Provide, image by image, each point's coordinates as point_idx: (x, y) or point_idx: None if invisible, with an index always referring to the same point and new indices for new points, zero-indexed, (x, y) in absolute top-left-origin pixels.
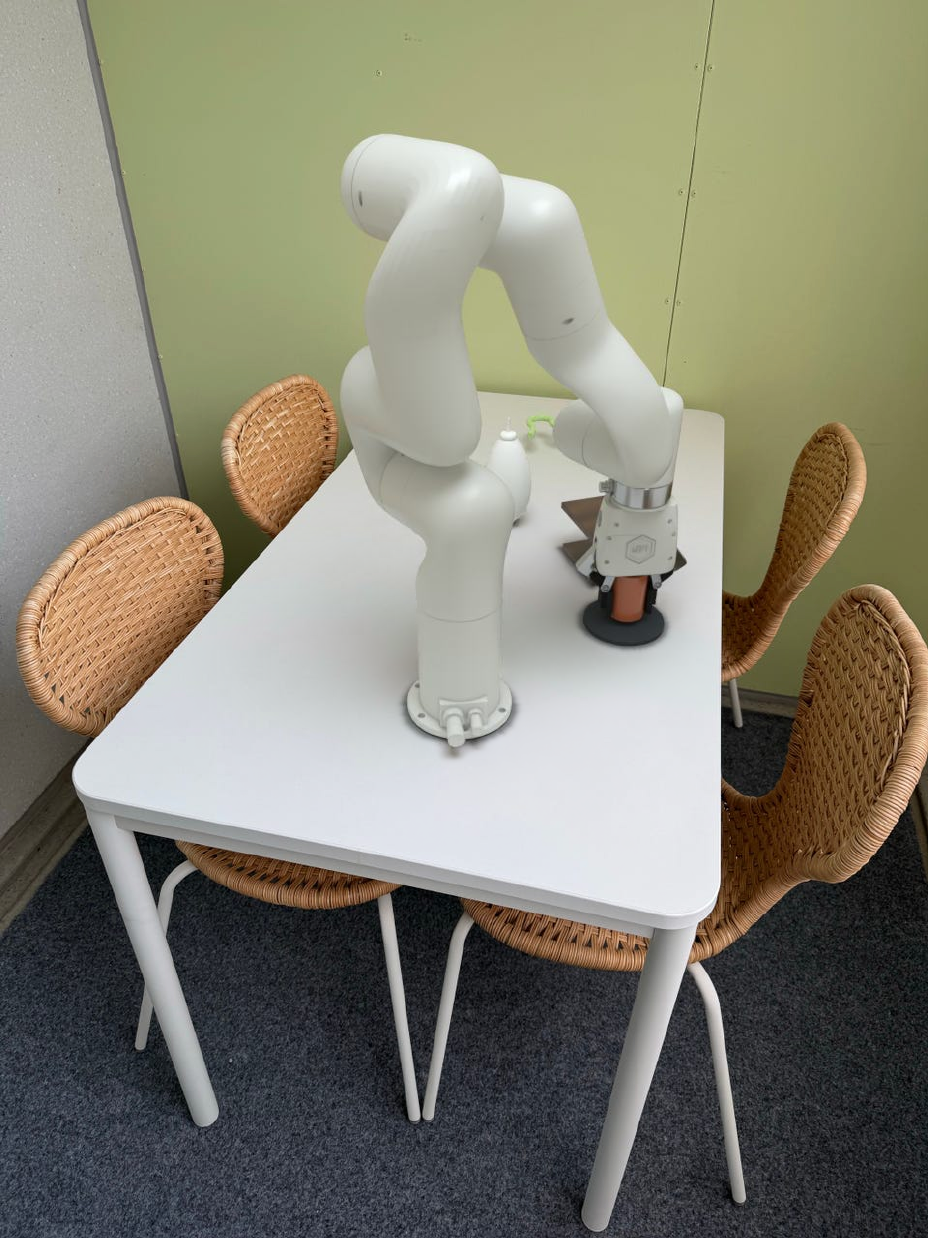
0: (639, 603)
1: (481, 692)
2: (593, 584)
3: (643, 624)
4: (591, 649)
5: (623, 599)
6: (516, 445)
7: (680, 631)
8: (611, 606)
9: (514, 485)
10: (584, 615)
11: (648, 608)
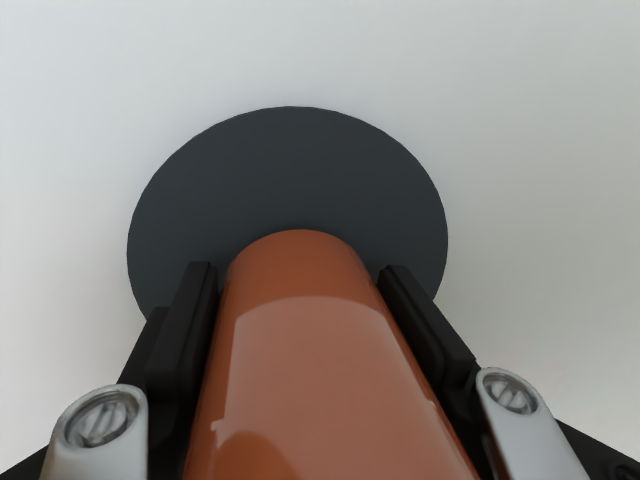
0: (265, 290)
1: None
2: None
3: (230, 231)
4: (484, 122)
5: (375, 313)
6: None
7: (59, 177)
8: (403, 296)
9: None
10: None
11: (202, 278)
